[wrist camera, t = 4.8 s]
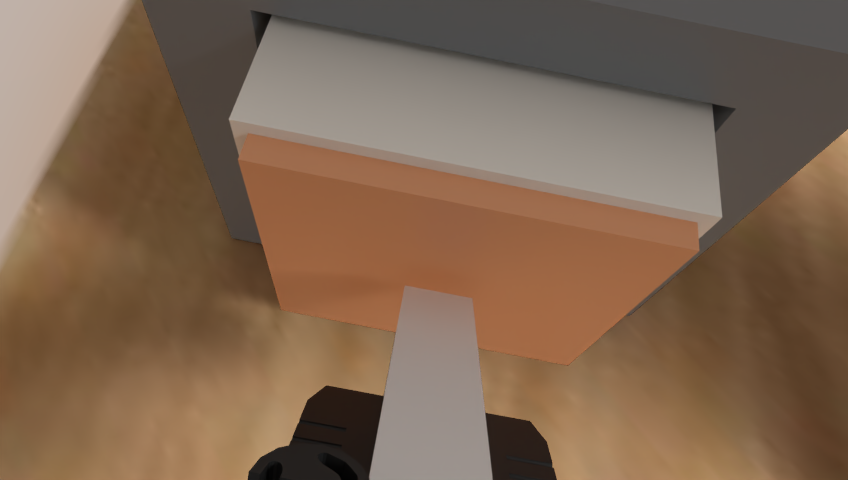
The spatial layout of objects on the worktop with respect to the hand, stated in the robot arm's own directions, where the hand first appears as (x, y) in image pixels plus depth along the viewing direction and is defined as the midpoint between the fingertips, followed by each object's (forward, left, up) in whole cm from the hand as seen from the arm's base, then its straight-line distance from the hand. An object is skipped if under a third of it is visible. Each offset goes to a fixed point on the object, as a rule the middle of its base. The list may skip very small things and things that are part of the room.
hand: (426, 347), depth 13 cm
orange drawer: (-5, -3, -4) cm, 7 cm away
